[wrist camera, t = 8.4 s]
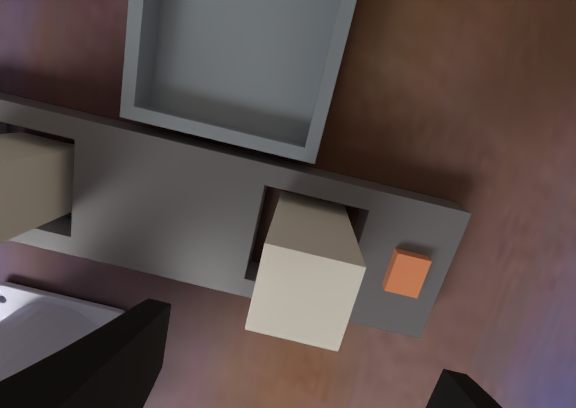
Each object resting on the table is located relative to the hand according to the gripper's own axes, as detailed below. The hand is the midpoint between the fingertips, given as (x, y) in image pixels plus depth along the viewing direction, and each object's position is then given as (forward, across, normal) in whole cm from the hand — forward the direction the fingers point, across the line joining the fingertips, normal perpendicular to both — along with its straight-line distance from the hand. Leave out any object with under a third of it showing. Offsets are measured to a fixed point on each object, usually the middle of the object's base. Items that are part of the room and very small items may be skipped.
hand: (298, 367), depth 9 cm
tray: (+10, +5, -8) cm, 14 cm away
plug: (+10, 0, 0) cm, 10 cm away
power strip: (+10, +5, 0) cm, 11 cm away
